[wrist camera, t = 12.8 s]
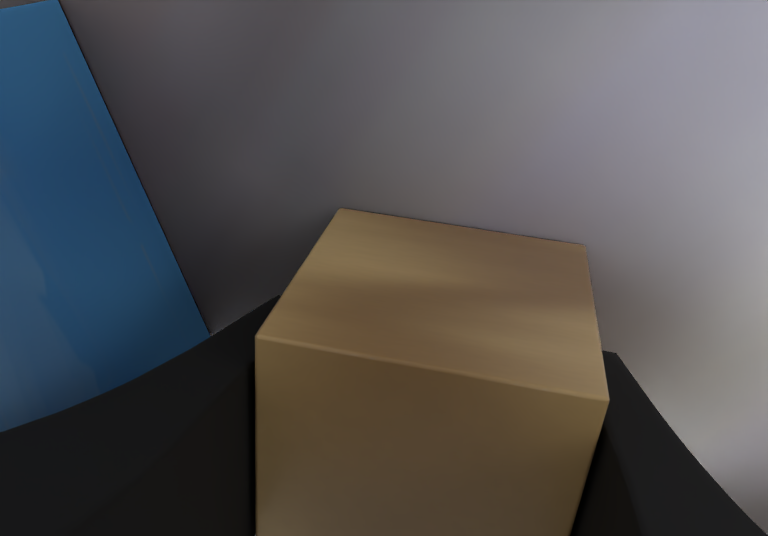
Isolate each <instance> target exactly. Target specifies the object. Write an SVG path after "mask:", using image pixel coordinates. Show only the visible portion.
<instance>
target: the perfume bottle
mask: <svg viewBox="0 0 768 536" xmlns="http://www.w3.org/2000/svg"><path fill="white" fill-rule="evenodd" d="M209 337H210V335H209V332H208V330H207V328H206V326H205V324H204V321H203V319H202V317H201V315H200V313H199V310H198V308H197V306H196V304H195V302H194V299H193V297H192V295H191V293H190V290H189V288H188V286H187V284H186V282H185V279H184V277H183V275H182V273H181V271H180V268H179V266H178V264H177V262H176V260H175V257H174V255H173V253H172V251H171V249H170V246H169V244H168V242H167V240H166V238H165V235H164V233H163V231H162V229H161V227H160V224H159V222H158V220H157V218H156V216H155V213H154V211H153V209H152V207H151V204H150V202H149V200H148V198H147V196H146V193H145V191H144V189H143V187H142V185H141V182H140V180H139V178H138V176H137V174H136V171H135V169H134V167H133V165H132V163H131V160H130V158H129V156H128V154H127V152H126V149H125V147H124V145H123V143H122V141H121V138H120V136H119V134H118V132H117V130H116V127H115V125H114V123H113V121H112V118H111V116H110V114H109V112H108V110H107V107H106V105H105V103H104V101H103V99H102V96H101V94H100V92H99V90H98V88H97V85H96V83H95V81H94V79H93V77H92V74H91V72H90V70H89V68H88V66H87V63H86V61H85V59H84V57H83V55H82V52H81V50H80V48H79V46H78V44H77V41H76V39H75V37H74V35H73V32H72V30H71V28H70V26H69V24H68V21H67V19H66V17H65V15H64V13H63V10H62V8H61V6H60V4H59V2H58V0H48V1H42V2H37V3H31V4H26V5H20V6H15V7H9V8H4V9H0V432H3V431H6V430H8V429H11V428H14V427H17V426H20V425H23V424H26V423H29V422H31V421H34V420H37V419H40V418H43V417H46V416H49V415H52V414H54V413H57V412H60V411H62V410H65V409H67V408H70V407H72V406H75V405H77V404H79V403H82V402H84V401H86V400H89V399H91V398H94V397H96V396H98V395H101V394H103V393H105V392H107V391H110V390H112V389H114V388H116V387H118V386H120V385H123V384H125V383H127V382H129V381H131V380H133V379H135V378H137V377H139V376H141V375H143V374H144V373H146V372H148V371H150V370H152V369H154V368H156V367H158V366H159V365H161V364H163V363H165V362H167V361H169V360H171V359H172V358H174V357H176V356H178V355H180V354H182V353H184V352H185V351H187V350H189V349H191V348H193V347H194V346H196V345H198V344H199V343H201V342H203V341H204V340H206V339H208V338H209Z"/></svg>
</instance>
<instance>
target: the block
mask: <svg viewBox="0 0 768 536" xmlns="http://www.w3.org/2000/svg"><path fill="white" fill-rule="evenodd" d="M609 401H610V399H609V393H608V387H607V380H606V374H605V367H604V361H603V355H602V348H601V342H600V335H599V329H598V322H597V316H596V310H595V303H594V297H593V290H592V284H591V278H590V271H589V265H588V258H587V252H586V246H584V245H579V244H573V243H566V242H560V241H553V240H547V239H540V238H534V237H527V236H520V235H514V234H507V233H501V232H494V231H488V230H481V229H475V228H468V227H461V226H455V225H448V224H442V223H435V222H429V221H422V220H416V219H409V218H403V217H396V216H389V215H383V214H376V213H370V212H363V211H357V210H350V209H344V208H340V209H338V211H337V212H336V214H335V215H334V217H333V218H332V220H331V221H330V223H329V224H328V226H327V227H326V229H325V230H324V232H323V233H322V235H321V236H320V238H319V239H318V241H317V243H316V244H315V246H314V247H313V249H312V250H311V252H310V253H309V255H308V256H307V258H306V259H305V261H304V262H303V264H302V265H301V267H300V268H299V270H298V271H297V273H296V274H295V276H294V277H293V279H292V280H291V282H290V283H289V285H288V286H287V288H286V289H285V291H284V293H283V294H282V296H281V297H280V299H279V300H278V302H277V303H276V305H275V306H274V308H273V309H272V311H271V312H270V314H269V315H268V317H267V318H266V320H265V321H264V323H263V324H262V326H261V327H260V329H259V330H258V332H257V333H256V335H255V531H256V536H570V535H571V531H572V528H573V524H574V521H575V517H576V514H577V511H578V507H579V504H580V500H581V497H582V493H583V490H584V487H585V483H586V480H587V476H588V473H589V469H590V466H591V463H592V459H593V456H594V452H595V449H596V445H597V442H598V439H599V435H600V432H601V428H602V425H603V421H604V418H605V415H606V411H607V408H608V404H609Z"/></svg>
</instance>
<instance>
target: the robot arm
mask: <svg viewBox="0 0 768 536" xmlns="http://www.w3.org/2000/svg"><path fill="white" fill-rule="evenodd" d="M280 297H281V296H280V295H278V296H277V297H275V298H273V299H271V300H269V301H268V302H266V303H264V304H263V305H261V306H260V307H258V308H256V309H255V310H253V311H252V312H250V313H248V314H247V315H245V316H244V317H242V318H240V319H239V320H237V321H236V322H234V323H232V324H231V325H229V326H228V327H226V328H224V329H223V330H221V331H219V332H218V333H216V334H214V335H213V336H211V337H209V338H208V339H206V340H204V341H203V342H201V343H199V344H198V345H196V346H194V347H193V348H191V349H189V350H187V351H185V352H184V353H182V354H180V355H178V356H176V357H174V358H172V359H171V360H169V361H167V362H165V363H163V364H161V365H159V366H158V367H156V368H154V369H152V370H150V371H148V372H146V373H144V374H143V375H141V376H139V377H137V378H135V379H133V380H131V381H129V382H127V383H125V384H123V385H120V386H118V387H116V388H114V389H112V390H110V391H107V392H105V393H103V394H101V395H98V396H96V397H94V398H91V399H89V400H86V401H84V402H82V403H79V404H77V405H75V406H72V407H70V408H67V409H65V410H62V411H60V412H57V413H54V414H52V415H49V416H46V417H43V418H40V419H37V420H34V421H31V422H29V423H26V424H23V425H20V426H17V427H14V428H11V429H8V430H6V431H3V432H0V536H255V534H256V531H255V335H256V333H257V332H258V330H259V329H260V327H261V326H262V324H263V323H264V321H265V320H266V318H267V317H268V315H269V314H270V312H271V311H272V309H273V308H274V306H275V305H276V303H277V302H278V300H279V299H280ZM602 355H603V361H604V367H605V374H606V380H607V387H608V393H609V399H610V401H609V404H608V408H607V411H606V415H605V418H604V421H603V425H602V428H601V432H600V435H599V439H598V442H597V445H596V449H595V452H594V456H593V459H592V463H591V466H590V469H589V473H588V476H587V480H586V483H585V487H584V490H583V493H582V497H581V500H580V504H579V507H578V511H577V514H576V517H575V521H574V524H573V528H572V531H571V535H570V536H768V535H767V534H766V533H765V532H764V531H763V530H761V529H760V528H759V527H758V526H757V525H756V524H755V523H754V522H753V521H752V520H751V519H750V518H749V517H748V516H747V515H746V514H745V513H744V512H743V511H742V510H741V509H740V507H739V506H738V505H737V504H736V503H735V502H734V501H733V500H732V499H731V498H730V497H729V496H728V495H727V494H726V492H725V491H724V490H723V489H722V488H721V487H720V486H719V485H718V483H717V482H716V481H715V480H714V479H713V478H712V477H711V476H710V474H709V473H708V472H707V471H706V470H705V469H704V468H703V467H702V465H701V464H700V463H699V462H698V461H697V459H696V458H695V457H694V456H693V455H692V453H691V452H690V451H689V450H688V449H687V448H686V446H685V445H684V444H683V443H682V441H681V440H680V439H679V438H678V436H677V435H676V434H675V432H674V431H673V430H672V429H671V427H670V426H669V425H668V424H667V422H666V421H665V420H664V418H663V417H662V416H661V414H660V413H659V412H658V410H657V409H656V408H655V406H654V405H653V404H652V402H651V401H650V399H649V398H648V397H647V395H646V394H645V393H644V391H643V390H642V388H641V387H640V386H639V384H638V383H637V381H636V380H635V379H634V377H633V376H632V374H631V373H630V372H629V370H628V369H627V367H626V366H625V365H624V363H623V362H622V360H621V359H620V358H619V356H618V355H617V354H616V353H613V352H607V351H602Z"/></svg>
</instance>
